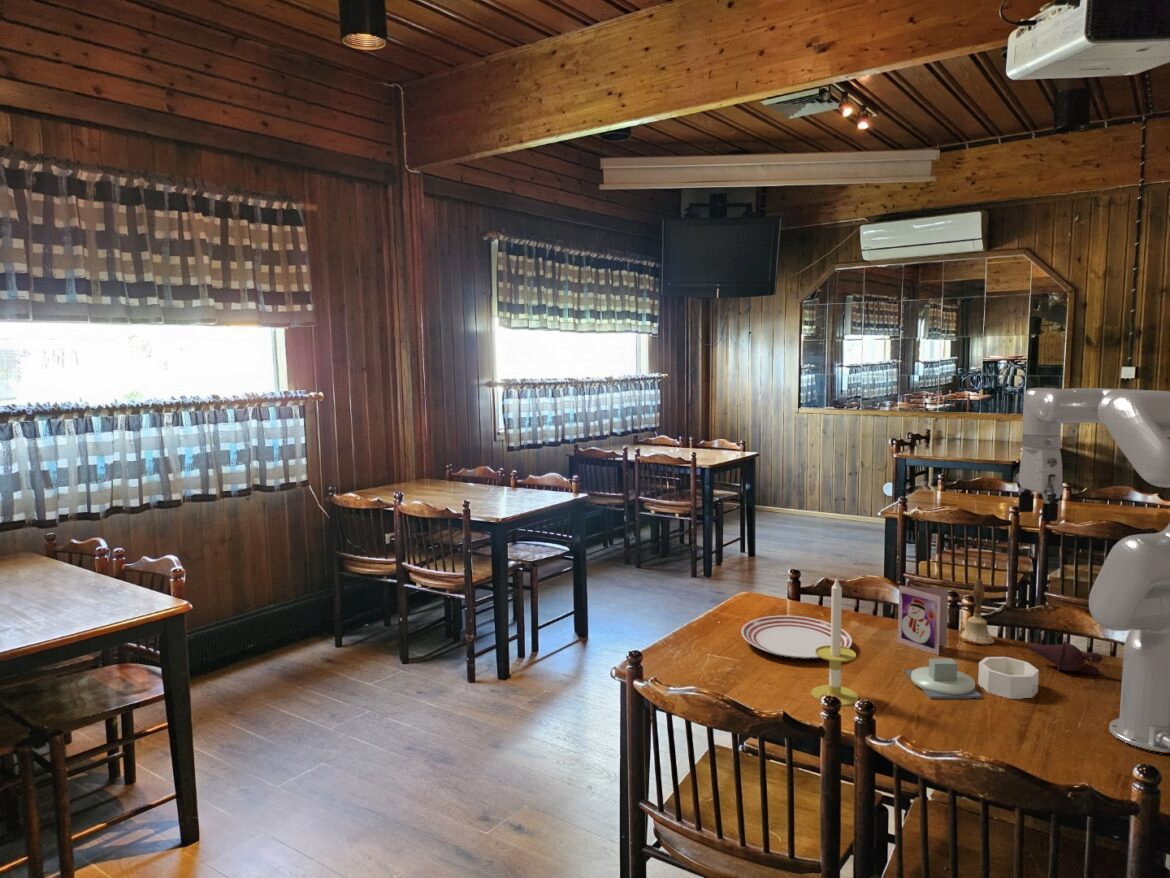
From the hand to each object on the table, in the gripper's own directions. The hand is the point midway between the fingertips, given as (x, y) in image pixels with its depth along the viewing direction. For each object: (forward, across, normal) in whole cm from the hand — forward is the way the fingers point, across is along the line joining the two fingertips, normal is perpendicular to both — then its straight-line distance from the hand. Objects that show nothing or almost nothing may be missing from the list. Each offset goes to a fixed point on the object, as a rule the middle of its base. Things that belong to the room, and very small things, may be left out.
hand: (1037, 516), depth 180 cm
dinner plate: (+37, +16, +51) cm, 65 cm away
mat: (+36, -9, +24) cm, 45 cm away
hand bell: (+37, +18, +4) cm, 41 cm away
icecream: (+37, -1, -7) cm, 37 cm away
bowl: (+36, -11, +11) cm, 39 cm away
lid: (+36, -9, +24) cm, 44 cm away
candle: (+36, -14, +50) cm, 63 cm away
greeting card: (+37, +14, +19) cm, 44 cm away
